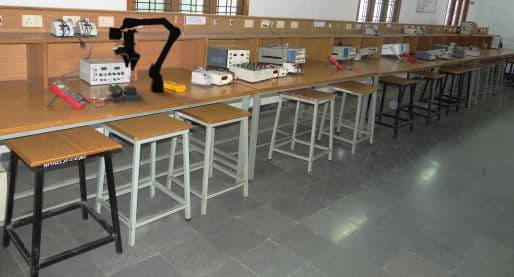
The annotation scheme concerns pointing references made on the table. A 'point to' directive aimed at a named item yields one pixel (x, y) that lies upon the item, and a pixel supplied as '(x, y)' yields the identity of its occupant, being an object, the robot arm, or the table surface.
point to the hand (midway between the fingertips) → (129, 69)
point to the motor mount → (121, 94)
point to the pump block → (129, 90)
